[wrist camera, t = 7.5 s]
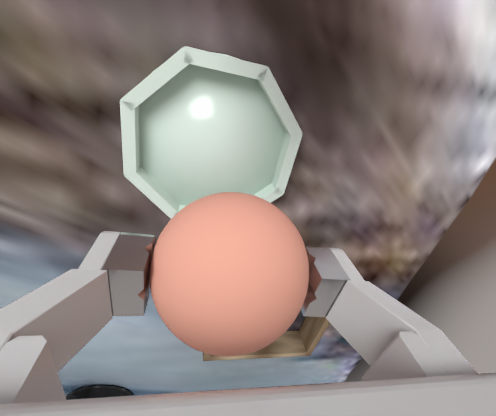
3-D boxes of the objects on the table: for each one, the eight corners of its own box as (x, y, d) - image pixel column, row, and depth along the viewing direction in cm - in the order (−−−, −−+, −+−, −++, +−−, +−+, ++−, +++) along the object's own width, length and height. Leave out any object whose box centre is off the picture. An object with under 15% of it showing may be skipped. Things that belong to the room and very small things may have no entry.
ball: (162, 264, 11) (131, 397, 7) (166, 158, 8) (122, 260, 4) (268, 270, 12) (301, 386, 8) (300, 177, 9) (374, 273, 5)
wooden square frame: (203, 336, 31) (203, 360, 29) (218, 254, 24) (220, 277, 22) (302, 333, 35) (310, 355, 32) (341, 261, 28) (354, 281, 25)
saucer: (131, 204, 20) (124, 217, 18) (124, 29, 14) (113, 26, 13) (268, 217, 23) (273, 230, 21) (310, 75, 17) (321, 77, 15)
